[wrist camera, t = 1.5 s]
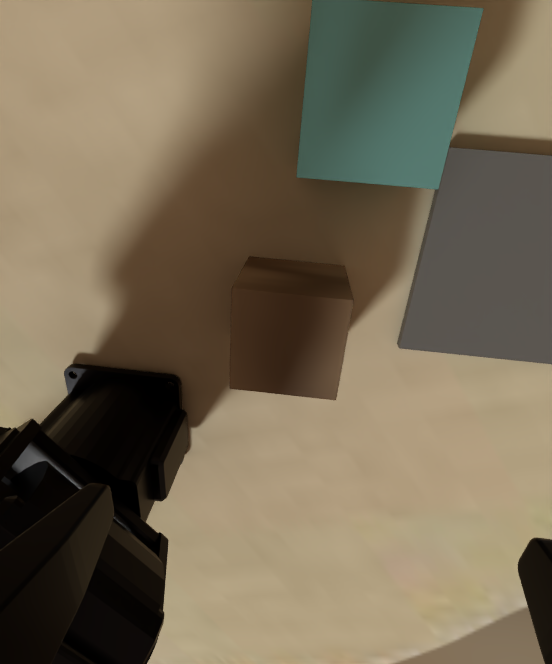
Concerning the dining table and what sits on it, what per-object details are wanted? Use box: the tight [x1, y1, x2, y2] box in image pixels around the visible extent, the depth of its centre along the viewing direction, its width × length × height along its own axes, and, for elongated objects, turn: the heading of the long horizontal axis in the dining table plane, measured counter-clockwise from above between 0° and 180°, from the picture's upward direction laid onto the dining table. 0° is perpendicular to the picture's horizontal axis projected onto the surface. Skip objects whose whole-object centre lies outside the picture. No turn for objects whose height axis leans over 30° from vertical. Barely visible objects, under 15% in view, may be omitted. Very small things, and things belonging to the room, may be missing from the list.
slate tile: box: [397, 147, 552, 364], centre depth 17 cm, size 9×9×1 cm
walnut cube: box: [230, 257, 354, 400], centre depth 17 cm, size 4×4×4 cm
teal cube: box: [296, 0, 484, 189], centre depth 13 cm, size 4×4×4 cm
